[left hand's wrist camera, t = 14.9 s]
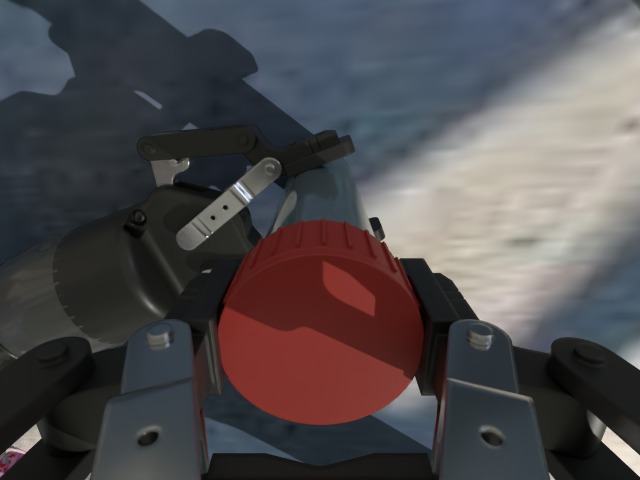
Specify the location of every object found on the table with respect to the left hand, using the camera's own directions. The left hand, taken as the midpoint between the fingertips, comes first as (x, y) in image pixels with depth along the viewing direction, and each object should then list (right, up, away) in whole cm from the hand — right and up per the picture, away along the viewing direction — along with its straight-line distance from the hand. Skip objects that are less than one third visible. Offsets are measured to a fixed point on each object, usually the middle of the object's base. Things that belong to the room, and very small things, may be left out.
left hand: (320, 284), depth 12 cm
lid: (0, -1, -3) cm, 3 cm away
